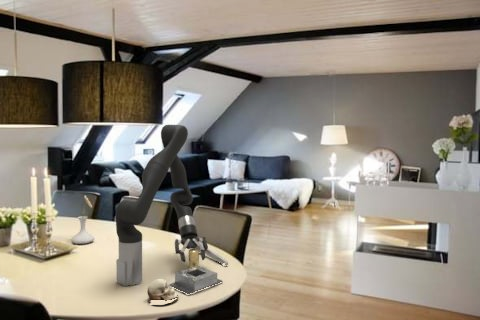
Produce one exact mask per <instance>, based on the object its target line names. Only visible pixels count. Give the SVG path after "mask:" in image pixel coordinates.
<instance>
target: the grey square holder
mask: <svg viewBox="0 0 480 320" xmlns="http://www.w3.org/2000/svg"><path fill="white" fill-rule="evenodd" d="M220 282H222V283H223V280H222V279H219V278H218V272H216V271H214V270H212V269H211V270H210V269H208V268H205V267H202V266H195V267H192V268H186V269H182V270H180V271H175V273H174V282H172V283H169V284H170V286H171V287H174V288H176V289H178V290H180V291H183V292H185V293H187V294H190V293H193V292H195V291H198V290H201V289H204V288H206V287H209V286H212V285H215V284H218V283H220Z"/></svg>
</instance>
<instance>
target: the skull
mask: <svg viewBox="0 0 480 320" xmlns="http://www.w3.org/2000/svg"><path fill="white" fill-rule="evenodd" d="M167 282H168V281H167V280H166V279H164V278H158V279H154V280H152V282H151V283H149V285H148V286H147V297H149V299H150V300H165V301H167V300H172V299H175V298H177V299H176V300H174V301H173V303H175V302H176V301H177V300H178V299H179V295H178V294H177V293H176V290H175V289H173V288H172V287H171V286H170V284H171V283H167ZM177 296H178V297H177Z"/></svg>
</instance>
